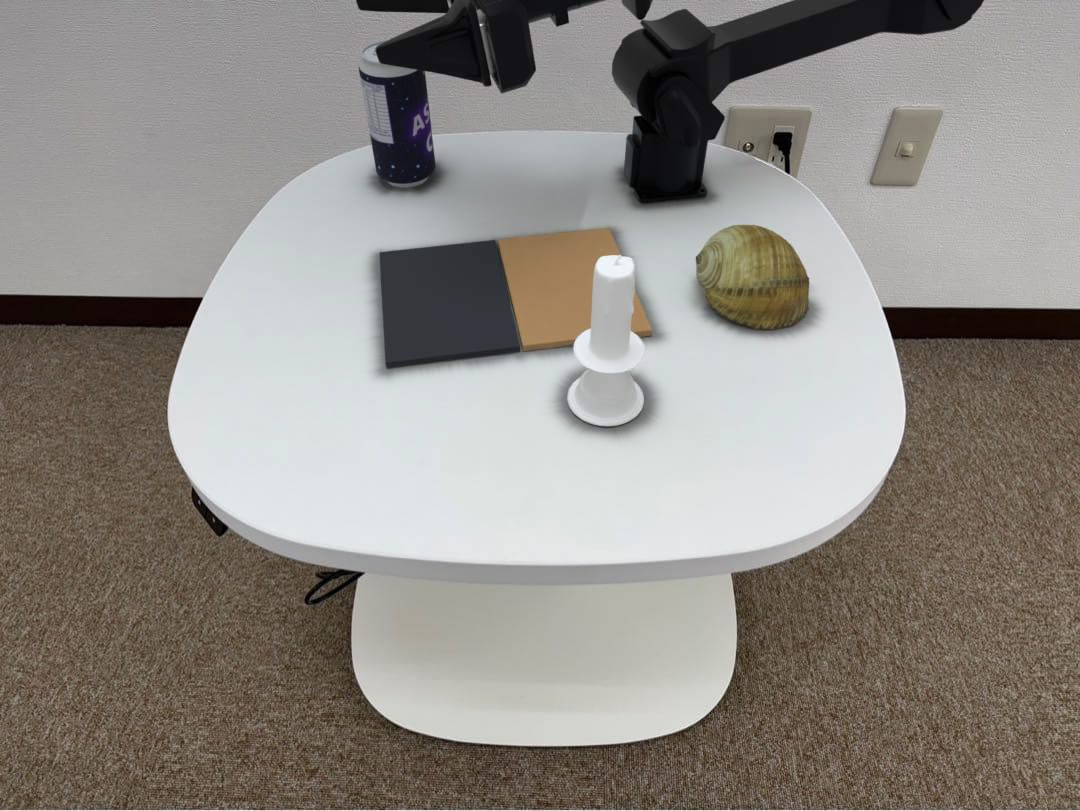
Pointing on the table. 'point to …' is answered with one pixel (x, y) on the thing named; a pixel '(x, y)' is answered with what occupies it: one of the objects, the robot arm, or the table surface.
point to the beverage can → (397, 120)
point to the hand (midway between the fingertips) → (366, 27)
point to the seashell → (753, 277)
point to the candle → (609, 349)
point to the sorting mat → (492, 296)
